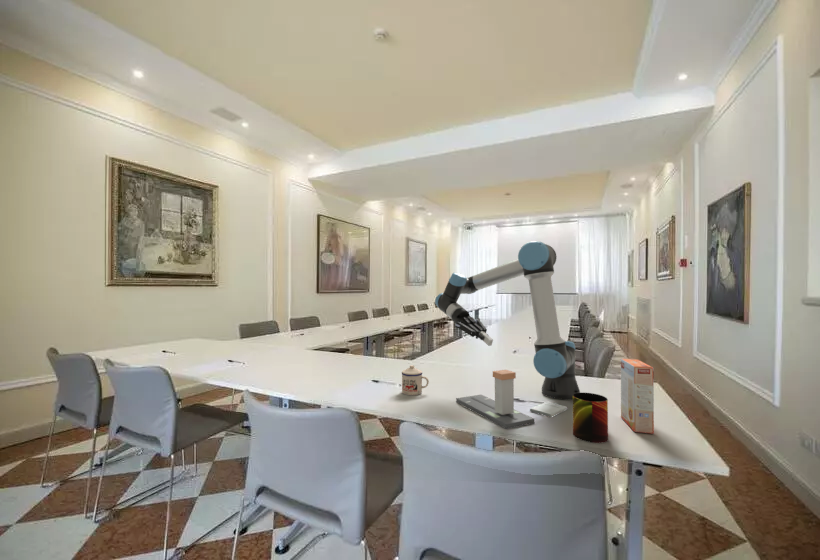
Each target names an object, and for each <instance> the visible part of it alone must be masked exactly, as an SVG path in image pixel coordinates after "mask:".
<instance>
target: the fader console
mask: <svg viewBox="0 0 820 560" xmlns="http://www.w3.org/2000/svg"><path fill="white" fill-rule="evenodd" d="M455 402H456V403H457V404H459V405H461V406H462V407H465V408H466V407H467V408H466V409H468V408H469V409H468V410H470V409H471V411H472V410H473V412H474V413H476V414H478V415H479V414H480V416H481V415H482V417H483V416H484V417H483V418H485V419H487V420H489V421H491V422H492V421H493V422H492V423H494V424H497V425H498V426H500V427H502V428H504V429H505V430H508V429H513V428H517V427H522V426H527V425H531V424H535V418H534V417H532V416H530V415H527V414H525V413H523V412H521V411H519V410H516V409H514V413H510V414H504V415H501V414H499V413H497V412H495V399H492V398H491V397H490V398H489V397H487V396H485V395H483V394H477V395H469V396H463V397H456V401H455Z"/></svg>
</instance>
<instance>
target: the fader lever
mask: <svg viewBox="0 0 820 560" xmlns="http://www.w3.org/2000/svg"><path fill="white" fill-rule="evenodd" d="M516 375H517V373H516V372H515V371H512V370H509V369H500V370H492V377H493V379H494V401H495V412H497V413H499V414H501V415H504V414H510V413H514V410H515V409H514V408H515V407H514V406H515V404H514V399H515V398H514V397H515V393H514V390H515V389H514V386H515V385H514V379H517V377H516Z"/></svg>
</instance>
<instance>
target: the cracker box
mask: <svg viewBox="0 0 820 560" xmlns="http://www.w3.org/2000/svg"><path fill="white" fill-rule="evenodd" d="M654 370H655V369H654V367H653V366H651V365H649V364H648V363H645V361H641V360H640V359H637V358H620V417H621V419H622V420H623V421H624V422H625V424H626V425H627V426H628V427H630V429H631V430H632V431H633V432H634V433H640V434H641V433H642V434H651V435H653V434H655V425H654V423H655V421H654V419H655V417H654V414H655V412H654V407H655V405H654V404H655V403H654V402H655V399H654V395H655V394H654V382H655V381H654V380H655V379H654V376H655V375H654Z"/></svg>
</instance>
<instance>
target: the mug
mask: <svg viewBox="0 0 820 560" xmlns="http://www.w3.org/2000/svg"><path fill="white" fill-rule="evenodd" d="M608 401H609V400H608V398H607V397H606V396H604V395H600V394H597V393H592V392H580V393H575V394H573V400H572V435H573V437H575V438H576V439H577V440H580V441H584V442H587V443H593V444H602V443H607V442H608V441H609V420H608V419H609V415H608V413H609V412H608V411H609V406H608V405H609V403H608Z"/></svg>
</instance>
